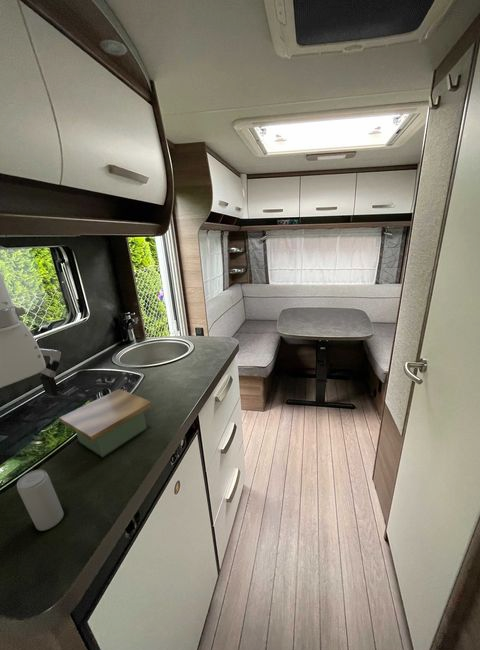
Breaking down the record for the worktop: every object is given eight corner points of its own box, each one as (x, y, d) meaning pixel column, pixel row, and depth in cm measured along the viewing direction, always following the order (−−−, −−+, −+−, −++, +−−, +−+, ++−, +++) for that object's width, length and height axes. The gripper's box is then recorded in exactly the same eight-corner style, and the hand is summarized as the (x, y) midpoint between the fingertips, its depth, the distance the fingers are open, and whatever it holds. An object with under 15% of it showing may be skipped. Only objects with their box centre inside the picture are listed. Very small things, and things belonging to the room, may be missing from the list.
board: (60, 422, 77) (58, 417, 77) (120, 392, 91) (119, 388, 91) (92, 441, 69) (90, 436, 69) (152, 406, 83) (151, 401, 83)
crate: (79, 443, 81) (71, 420, 78) (123, 417, 92) (118, 396, 89) (103, 458, 75) (95, 434, 72) (147, 429, 86) (142, 407, 83)
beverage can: (42, 514, 60) (22, 472, 55) (67, 508, 61) (50, 466, 57) (32, 535, 56) (10, 492, 51) (60, 528, 57) (40, 485, 52)
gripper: (33, 307, 55) (60, 382, 62) (-97, 334, 41) (-45, 428, 48) (56, 310, 52) (81, 389, 59) (-77, 340, 38) (-24, 440, 44)
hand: (25, 406), depth 53 cm, fingers open, 9 cm apart
